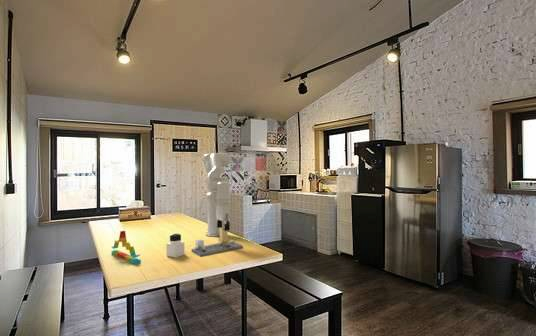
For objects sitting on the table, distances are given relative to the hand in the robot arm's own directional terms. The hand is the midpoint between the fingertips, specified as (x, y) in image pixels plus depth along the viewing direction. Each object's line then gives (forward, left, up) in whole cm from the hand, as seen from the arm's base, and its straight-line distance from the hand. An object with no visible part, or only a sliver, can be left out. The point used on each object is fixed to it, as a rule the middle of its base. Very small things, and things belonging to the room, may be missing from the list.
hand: (223, 228), depth 189 cm
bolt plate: (+4, -6, -11) cm, 13 cm away
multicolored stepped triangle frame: (-14, -54, -12) cm, 57 cm away
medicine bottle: (-1, -30, -11) cm, 32 cm away
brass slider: (+3, 0, -9) cm, 9 cm away
